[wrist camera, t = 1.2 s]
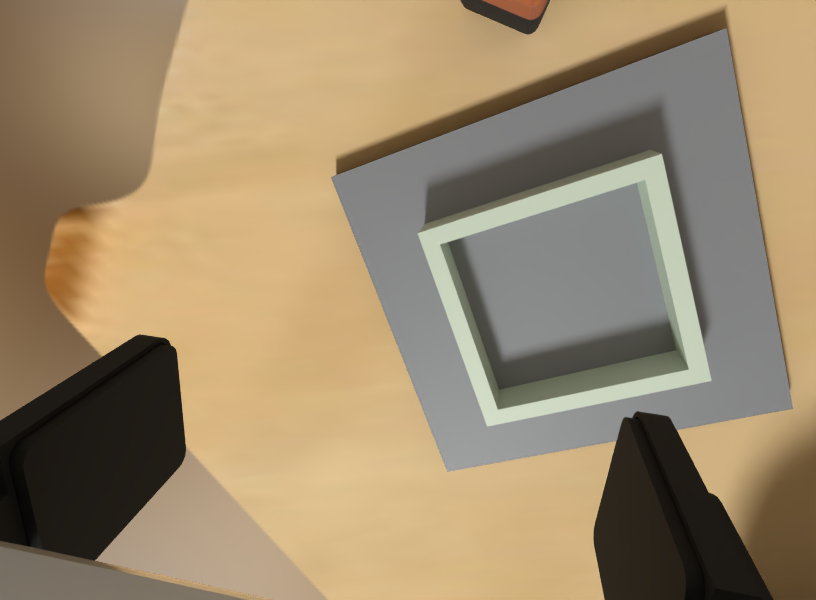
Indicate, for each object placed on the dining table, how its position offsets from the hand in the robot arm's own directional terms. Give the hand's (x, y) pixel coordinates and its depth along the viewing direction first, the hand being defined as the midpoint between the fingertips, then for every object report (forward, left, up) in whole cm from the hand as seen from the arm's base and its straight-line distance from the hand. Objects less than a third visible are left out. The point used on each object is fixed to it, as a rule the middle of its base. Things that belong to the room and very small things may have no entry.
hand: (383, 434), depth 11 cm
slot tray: (-4, +6, -23) cm, 24 cm away
